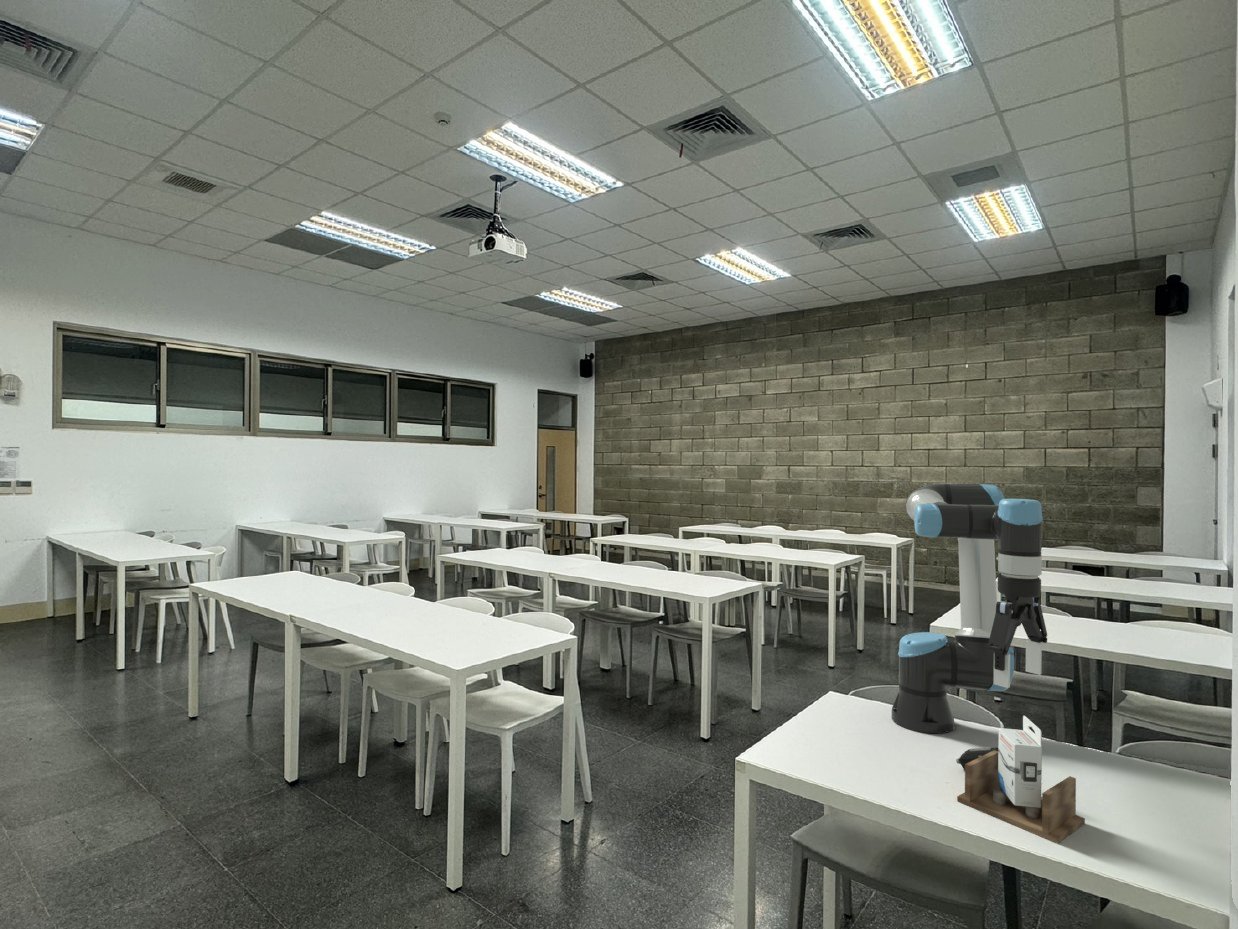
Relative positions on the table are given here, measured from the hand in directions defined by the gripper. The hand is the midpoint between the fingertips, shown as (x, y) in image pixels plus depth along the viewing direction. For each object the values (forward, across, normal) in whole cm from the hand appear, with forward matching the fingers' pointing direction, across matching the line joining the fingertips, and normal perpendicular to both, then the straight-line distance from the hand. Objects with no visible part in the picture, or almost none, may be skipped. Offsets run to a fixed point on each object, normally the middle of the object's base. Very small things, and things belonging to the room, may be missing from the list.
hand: (1017, 679), depth 132 cm
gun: (+25, -5, -7) cm, 26 cm away
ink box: (+22, +5, +2) cm, 22 cm away
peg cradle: (+24, +5, +3) cm, 25 cm away
